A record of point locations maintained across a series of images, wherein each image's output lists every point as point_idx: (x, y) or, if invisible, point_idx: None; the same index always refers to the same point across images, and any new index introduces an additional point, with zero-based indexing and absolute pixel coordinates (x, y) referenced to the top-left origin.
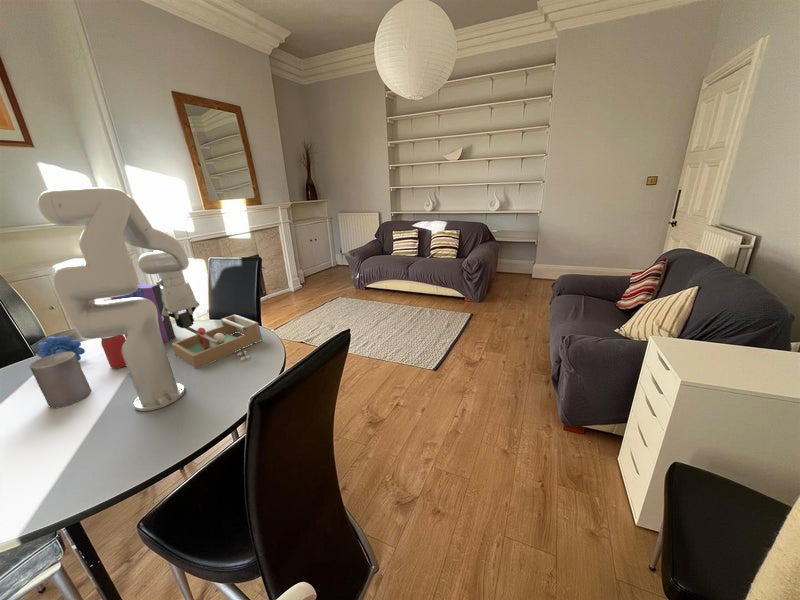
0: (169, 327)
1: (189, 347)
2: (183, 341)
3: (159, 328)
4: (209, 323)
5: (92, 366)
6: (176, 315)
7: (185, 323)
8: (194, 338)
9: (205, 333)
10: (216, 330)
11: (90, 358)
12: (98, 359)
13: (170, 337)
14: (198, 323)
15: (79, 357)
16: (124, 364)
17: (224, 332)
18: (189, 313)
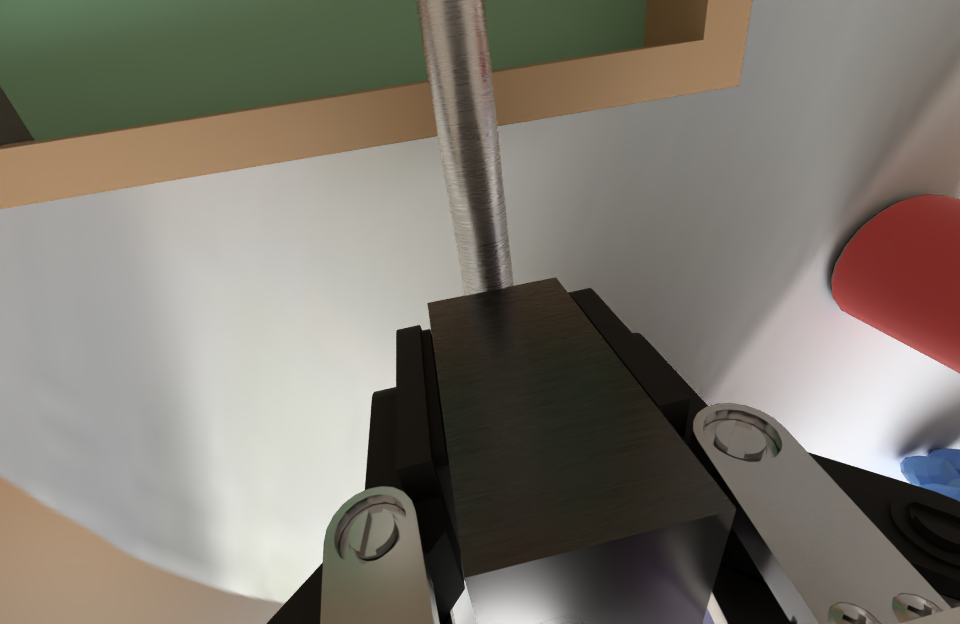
0: None
1: (537, 10)
2: (605, 56)
3: None
4: (260, 553)
5: (929, 358)
6: (803, 490)
7: (536, 326)
8: None
9: (284, 104)
10: (106, 131)
11: (864, 459)
12: (863, 425)
13: None
14: None
15: (922, 469)
16: (931, 197)
17: (43, 139)
18: (422, 536)
